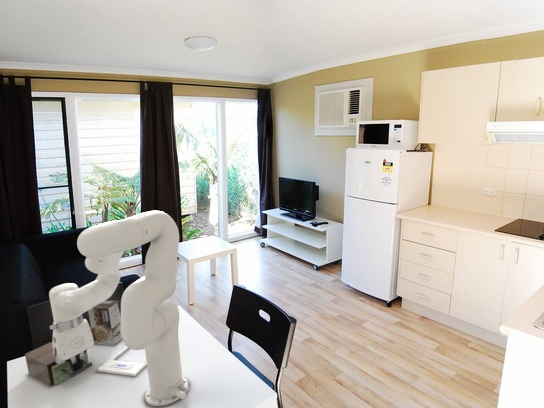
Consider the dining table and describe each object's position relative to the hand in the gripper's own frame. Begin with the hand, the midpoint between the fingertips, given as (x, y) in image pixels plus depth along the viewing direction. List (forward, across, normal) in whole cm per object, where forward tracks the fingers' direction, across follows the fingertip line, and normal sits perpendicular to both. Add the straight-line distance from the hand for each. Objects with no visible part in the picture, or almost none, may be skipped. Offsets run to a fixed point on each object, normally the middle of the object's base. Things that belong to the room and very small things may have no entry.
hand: (77, 370), depth 118 cm
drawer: (+3, 0, +6) cm, 7 cm away
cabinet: (+4, 0, +12) cm, 13 cm away
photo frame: (+4, +16, -6) cm, 17 cm away
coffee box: (+4, +19, +14) cm, 24 cm away
